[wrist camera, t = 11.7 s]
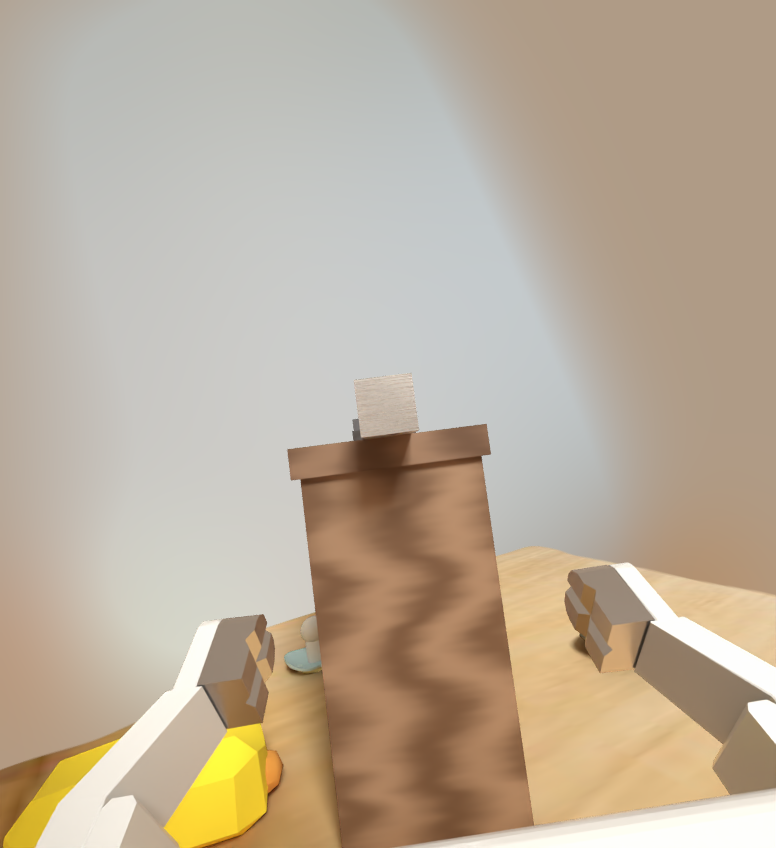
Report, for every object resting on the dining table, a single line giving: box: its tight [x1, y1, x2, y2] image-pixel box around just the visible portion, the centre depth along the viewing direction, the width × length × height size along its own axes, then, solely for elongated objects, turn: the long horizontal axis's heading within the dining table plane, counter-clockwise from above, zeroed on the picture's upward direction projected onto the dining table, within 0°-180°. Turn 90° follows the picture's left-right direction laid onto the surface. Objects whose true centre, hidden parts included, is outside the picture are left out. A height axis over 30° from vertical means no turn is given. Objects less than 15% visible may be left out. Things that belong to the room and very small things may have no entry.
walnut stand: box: [288, 419, 534, 848], centre depth 35 cm, size 13×23×29 cm, turn 1°
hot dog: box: [3, 723, 283, 848], centre depth 27 cm, size 18×7×8 cm
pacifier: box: [284, 616, 322, 673], centre depth 46 cm, size 7×6×6 cm
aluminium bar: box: [354, 373, 419, 439], centre depth 32 cm, size 3×25×3 cm, turn 1°
